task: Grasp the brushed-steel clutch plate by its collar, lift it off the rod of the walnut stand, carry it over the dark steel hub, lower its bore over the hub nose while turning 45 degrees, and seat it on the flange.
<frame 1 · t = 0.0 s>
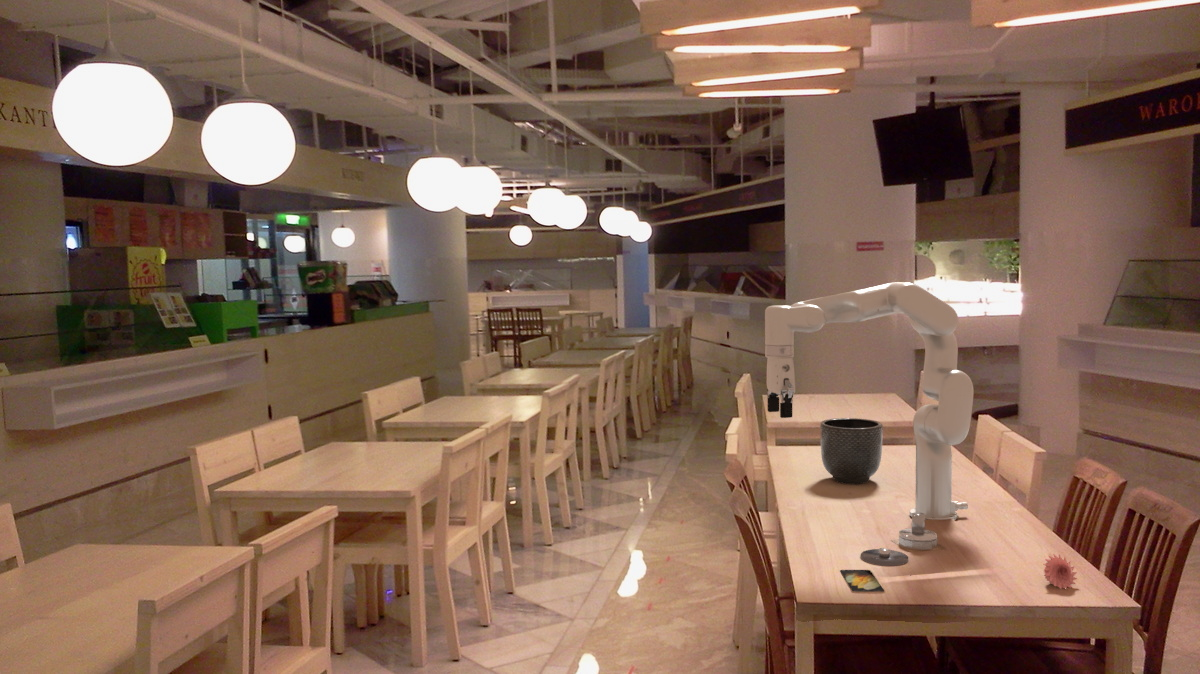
hand: (779, 414, 253), 31 cm above the table, fingers open, 9 cm apart
stand: (918, 548, 236), on the table
flower: (1059, 586, 208), on the table
hub: (884, 562, 226), on the table
clutch plate: (918, 544, 236), point 1 cm above the table, touching stand
smartphone: (861, 583, 213), on the table
planter: (851, 481, 307), on the table
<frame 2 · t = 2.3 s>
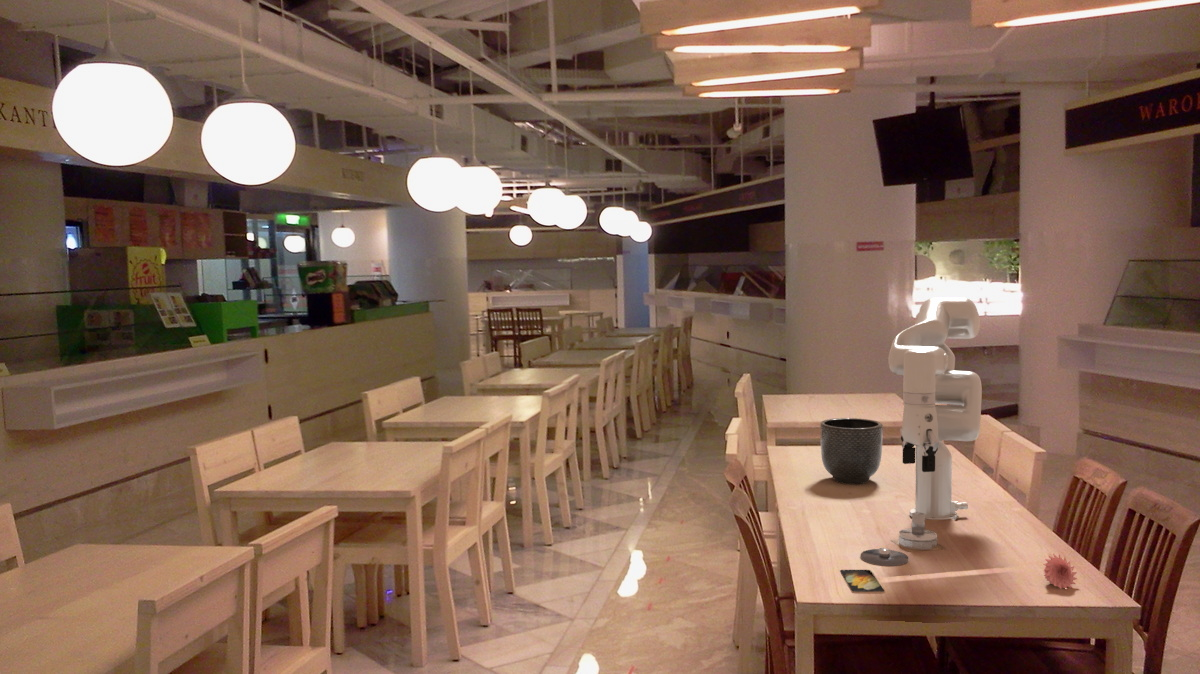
hand: (918, 467, 234), 21 cm above the table, fingers open, 9 cm apart
nothing on the table moved.
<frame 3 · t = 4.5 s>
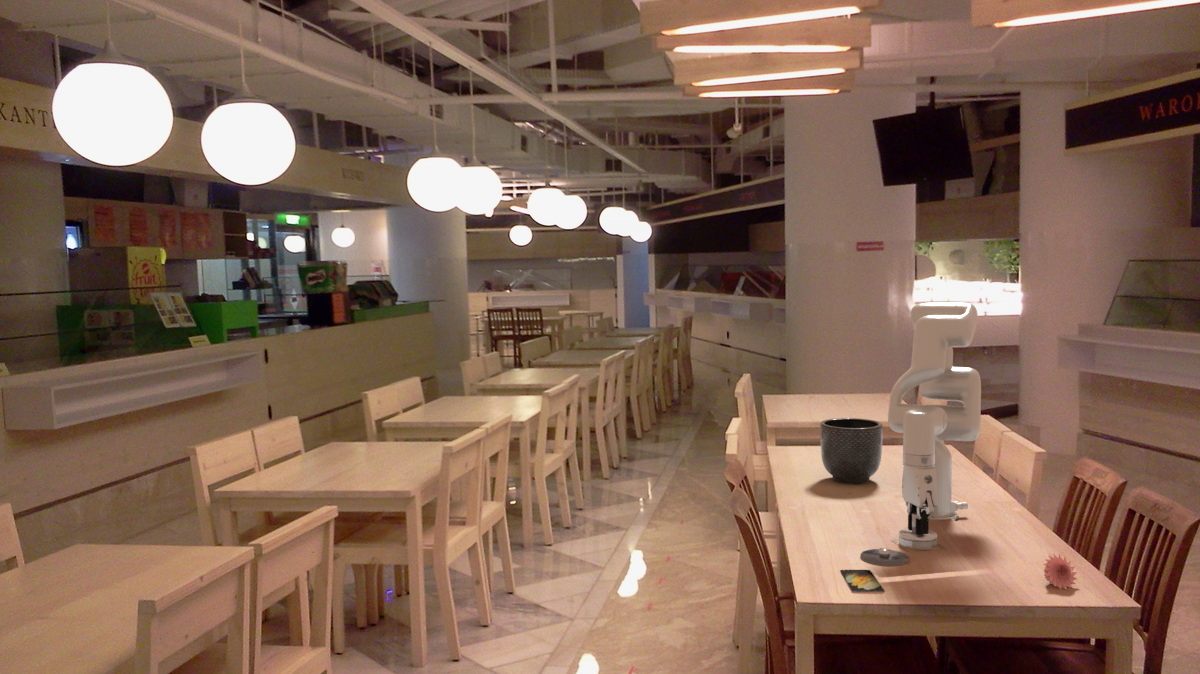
hand: (918, 531, 235), 4 cm above the table, fingers closed on clutch plate, 3 cm apart
clutch plate: (918, 544, 236), point 1 cm above the table, touching gripper, stand
everything else where it was.
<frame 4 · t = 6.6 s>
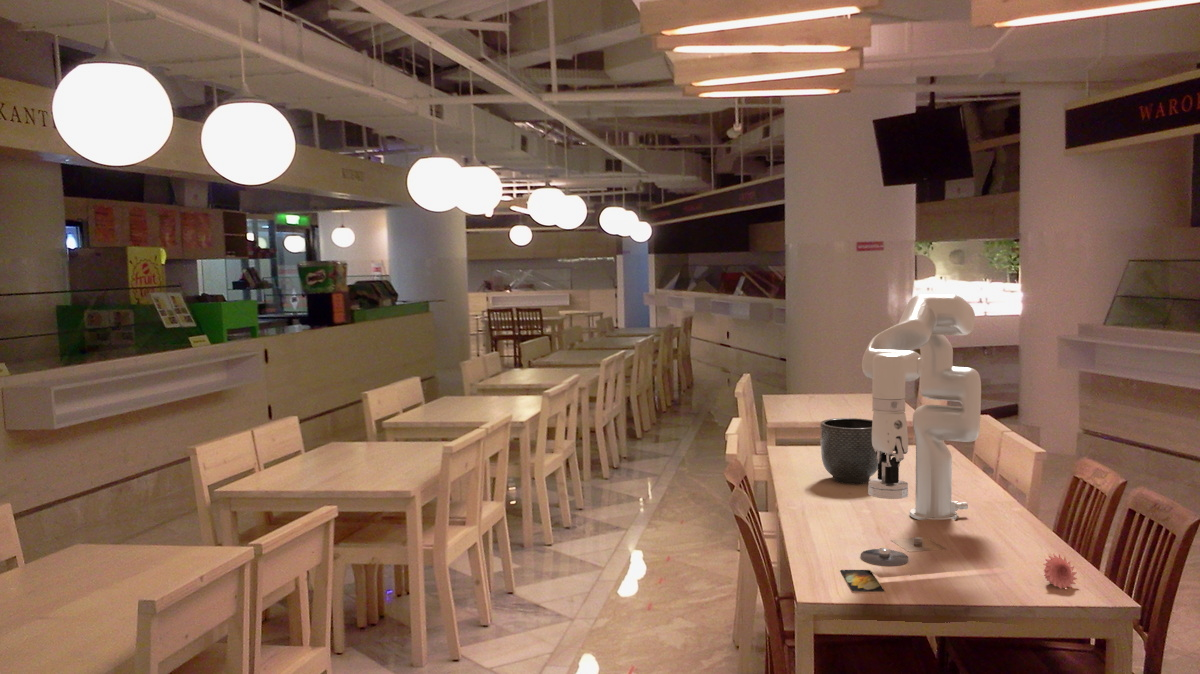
hand: (888, 480, 225), 20 cm above the table, fingers closed on clutch plate, 3 cm apart
clutch plate: (887, 494, 225), point 16 cm above the table, touching gripper
everything else where it was.
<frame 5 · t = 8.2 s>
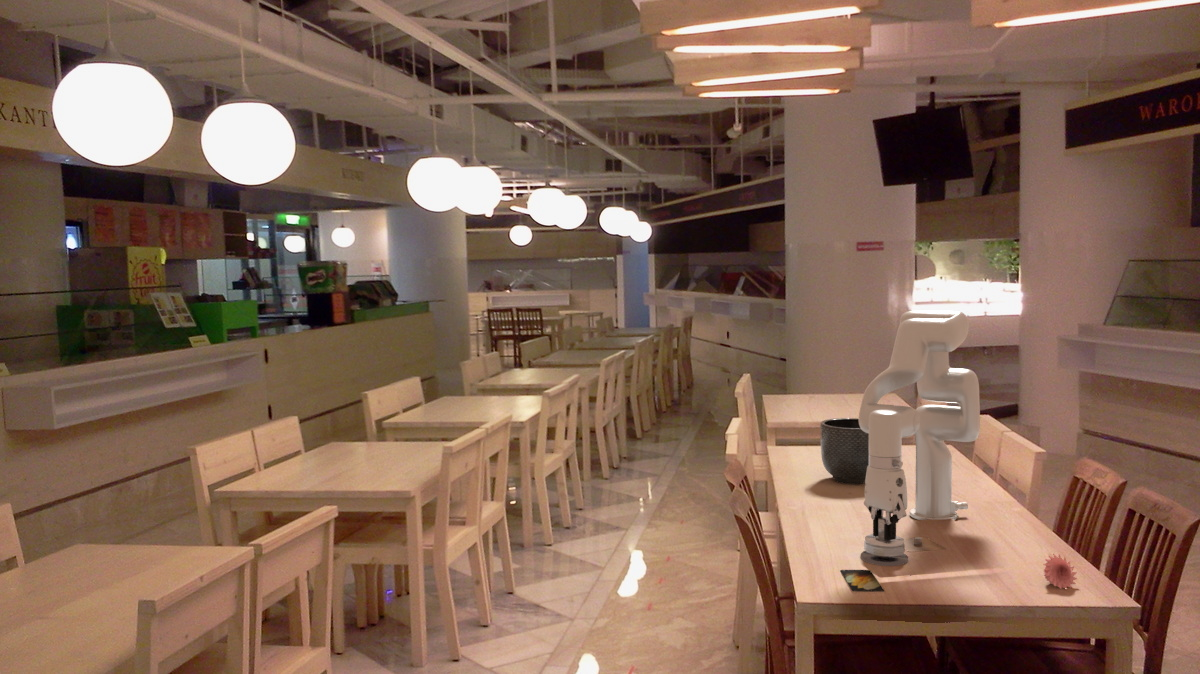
hand: (884, 536, 225), 6 cm above the table, fingers closed on clutch plate, 3 cm apart
clutch plate: (884, 550, 226), point 3 cm above the table, touching gripper
everything else where it was.
when the fingers open (5 cm above the table, at t = 8.9 s): clutch plate stays where it is, resting on hub.
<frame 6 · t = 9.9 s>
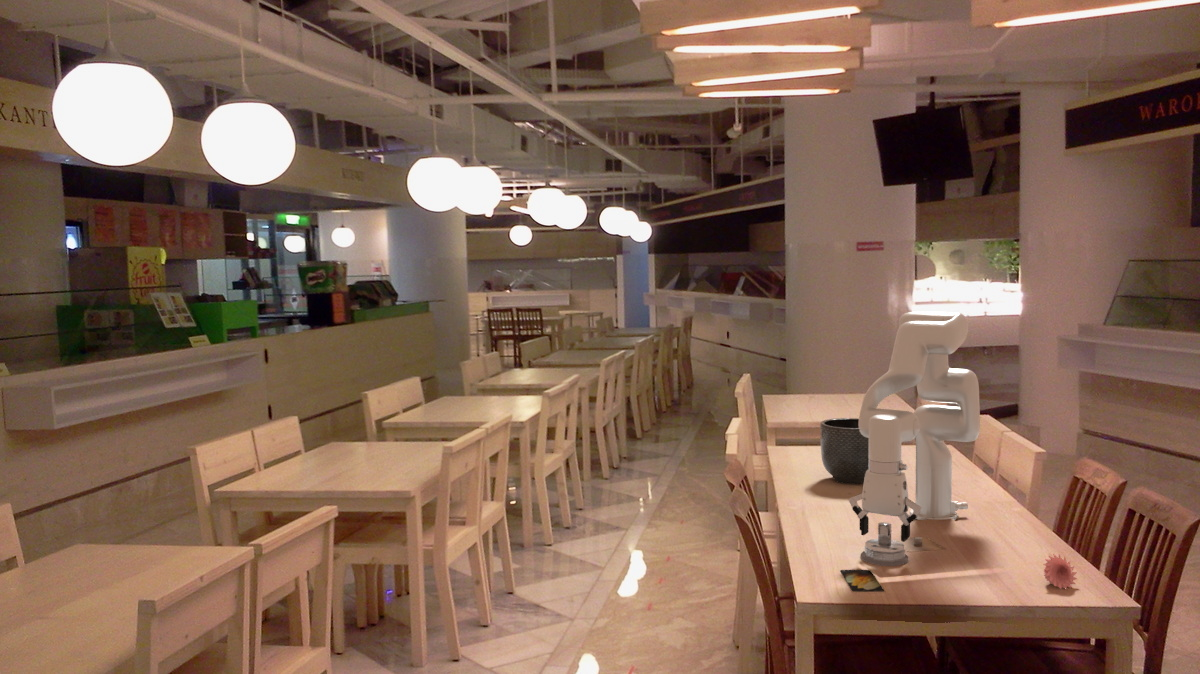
hand: (884, 537, 225), 6 cm above the table, fingers open, 9 cm apart
clutch plate: (884, 555, 226), point 1 cm above the table, touching hub
everything else where it was.
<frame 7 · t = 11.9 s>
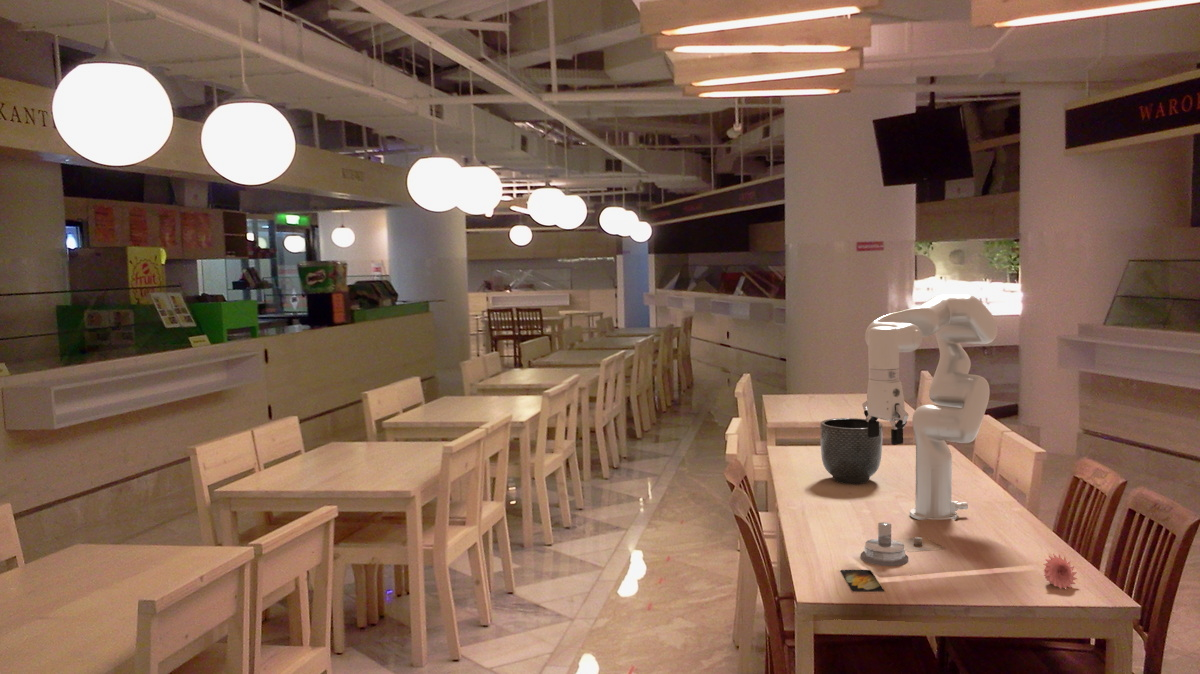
hand: (885, 440, 242), 26 cm above the table, fingers open, 9 cm apart
nothing on the table moved.
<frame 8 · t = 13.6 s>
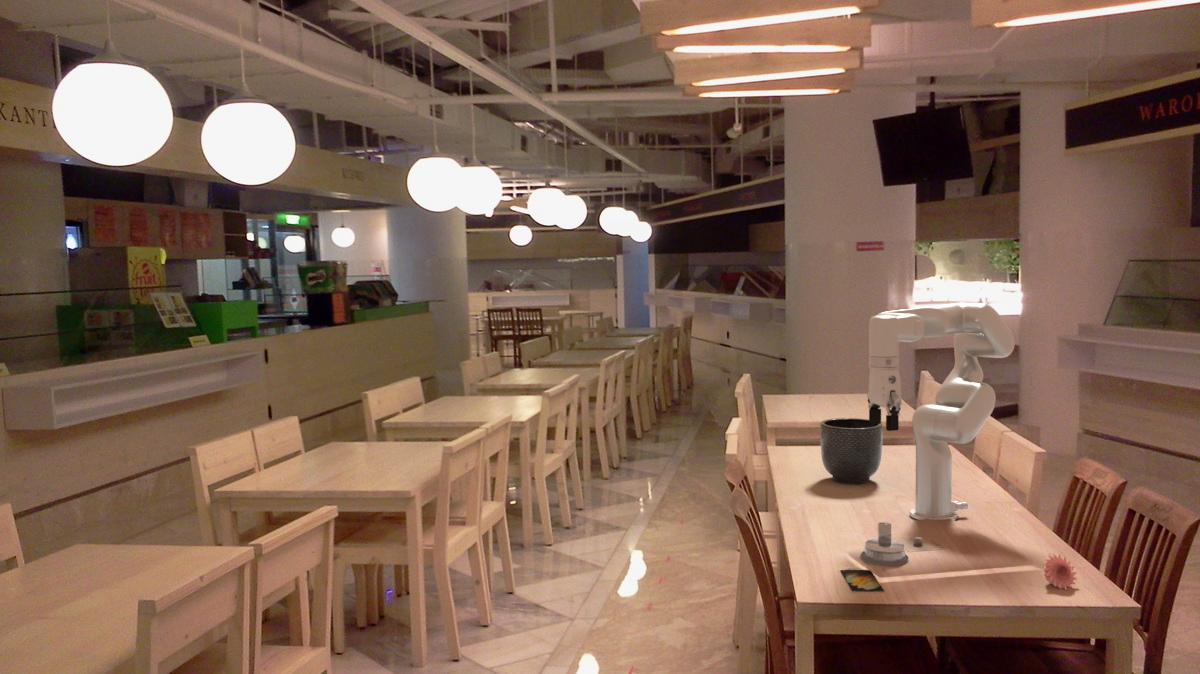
hand: (883, 427, 248), 28 cm above the table, fingers open, 9 cm apart
nothing on the table moved.
at the end: clutch plate 0.2 cm off-centre on the hub, point 1.5 cm above the hub's base; clutch plate tilted 0°; the gripper is holding nothing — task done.
